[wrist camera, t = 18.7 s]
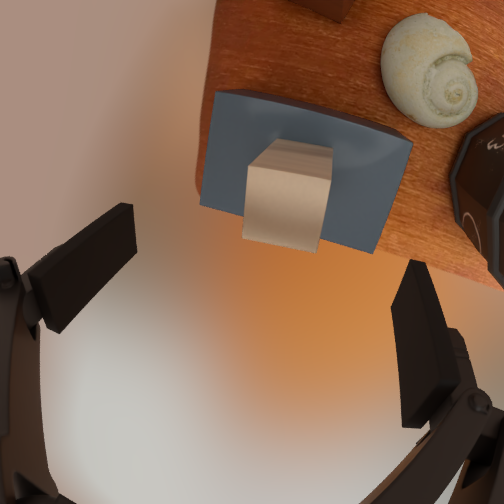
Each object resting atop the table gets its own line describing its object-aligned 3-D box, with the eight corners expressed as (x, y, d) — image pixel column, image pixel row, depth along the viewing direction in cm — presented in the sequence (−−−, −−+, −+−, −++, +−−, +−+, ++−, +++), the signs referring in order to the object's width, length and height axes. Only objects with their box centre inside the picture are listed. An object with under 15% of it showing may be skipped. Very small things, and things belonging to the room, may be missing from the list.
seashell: (499, 125, 22) (413, 137, 24) (464, 122, 29) (390, 134, 32) (462, 2, 18) (371, 4, 20) (434, 21, 25) (357, 28, 28)
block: (276, 138, 27) (247, 165, 19) (333, 148, 27) (331, 180, 18) (270, 190, 30) (241, 238, 22) (323, 200, 29) (316, 253, 21)
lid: (372, 250, 31) (372, 254, 30) (202, 202, 33) (199, 204, 33) (411, 141, 25) (413, 143, 24) (218, 90, 27) (215, 91, 26)
